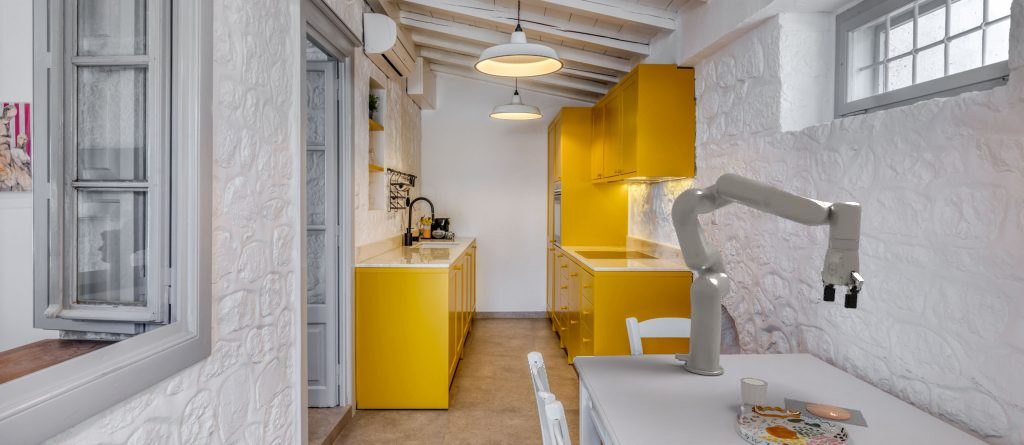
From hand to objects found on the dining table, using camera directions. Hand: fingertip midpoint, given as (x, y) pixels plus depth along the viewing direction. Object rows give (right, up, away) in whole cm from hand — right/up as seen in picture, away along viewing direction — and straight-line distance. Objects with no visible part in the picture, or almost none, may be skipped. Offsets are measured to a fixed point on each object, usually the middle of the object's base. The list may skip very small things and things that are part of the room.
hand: (839, 304), depth 158 cm
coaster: (-12, -26, -15) cm, 32 cm away
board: (-13, -27, -14) cm, 33 cm away
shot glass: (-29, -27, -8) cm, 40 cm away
